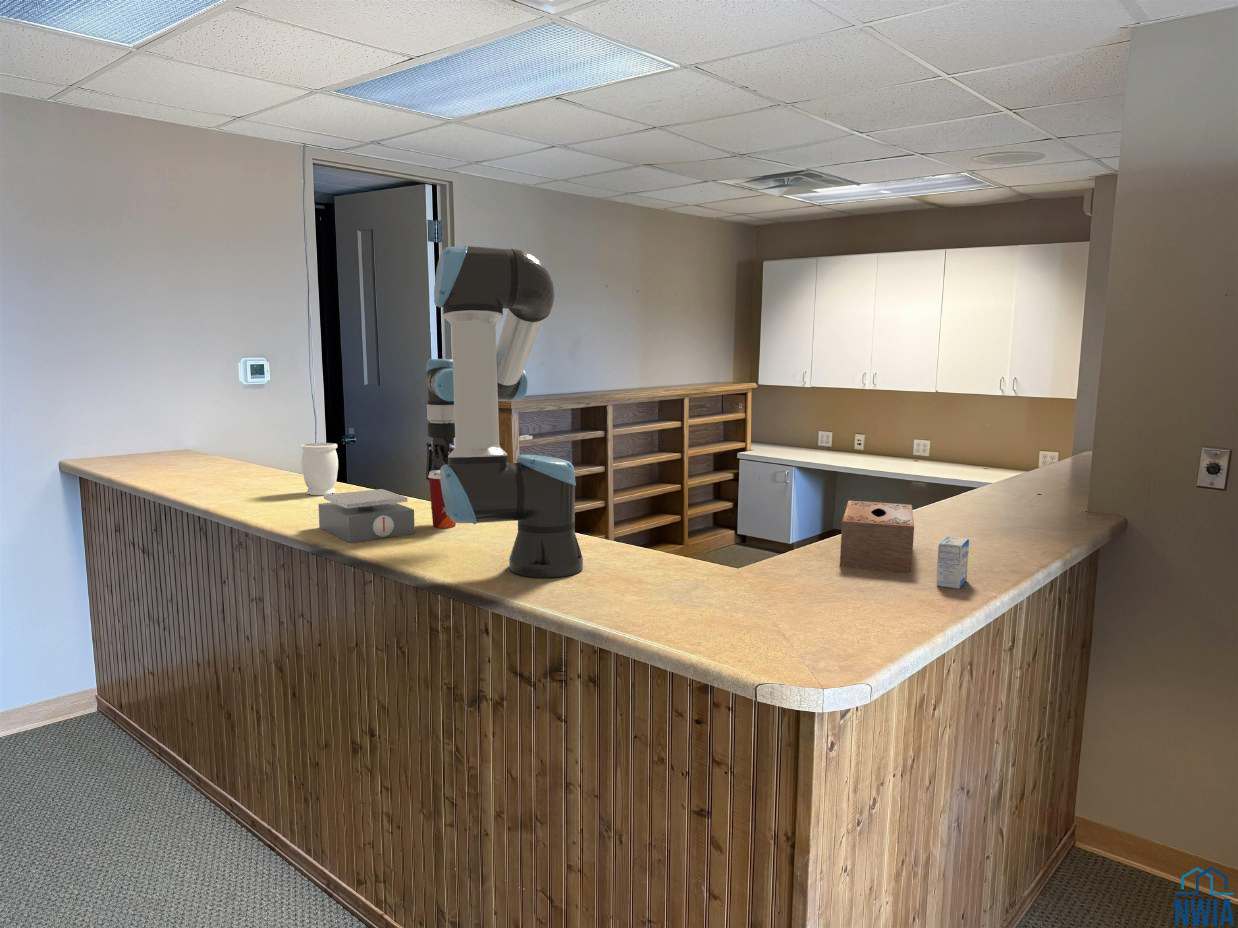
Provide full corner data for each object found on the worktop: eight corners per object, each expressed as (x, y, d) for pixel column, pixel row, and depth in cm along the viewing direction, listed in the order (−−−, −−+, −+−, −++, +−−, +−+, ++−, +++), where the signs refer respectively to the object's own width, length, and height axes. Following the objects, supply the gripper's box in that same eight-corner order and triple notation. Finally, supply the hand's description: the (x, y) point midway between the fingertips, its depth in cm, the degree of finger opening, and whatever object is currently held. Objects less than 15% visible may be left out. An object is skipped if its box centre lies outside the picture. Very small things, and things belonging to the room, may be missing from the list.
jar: (331, 496, 250) (330, 446, 248) (297, 496, 250) (295, 446, 248) (343, 490, 260) (342, 442, 258) (310, 490, 260) (309, 442, 258)
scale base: (415, 534, 202) (415, 509, 201) (351, 543, 192) (350, 517, 191) (380, 519, 218) (380, 497, 217) (319, 527, 208) (318, 503, 207)
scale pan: (407, 506, 203) (407, 497, 203) (346, 513, 194) (346, 504, 194) (382, 497, 215) (382, 488, 215) (324, 503, 206) (323, 494, 205)
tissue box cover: (911, 573, 174) (914, 526, 173) (839, 567, 179) (842, 521, 177) (909, 546, 199) (911, 504, 197) (846, 541, 203) (848, 500, 202)
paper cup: (452, 529, 207) (451, 473, 206) (423, 528, 209) (422, 472, 207) (464, 523, 215) (463, 469, 213) (436, 522, 217) (435, 468, 215)
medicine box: (959, 589, 162) (962, 546, 161) (935, 586, 164) (938, 543, 163) (966, 580, 169) (970, 538, 167) (943, 577, 171) (946, 535, 170)
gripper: (476, 424, 203) (477, 516, 206) (437, 417, 219) (439, 503, 222) (448, 425, 198) (449, 520, 201) (410, 418, 214) (412, 506, 217)
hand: (444, 511), depth 212 cm, fingers closed on paper cup, 8 cm apart
